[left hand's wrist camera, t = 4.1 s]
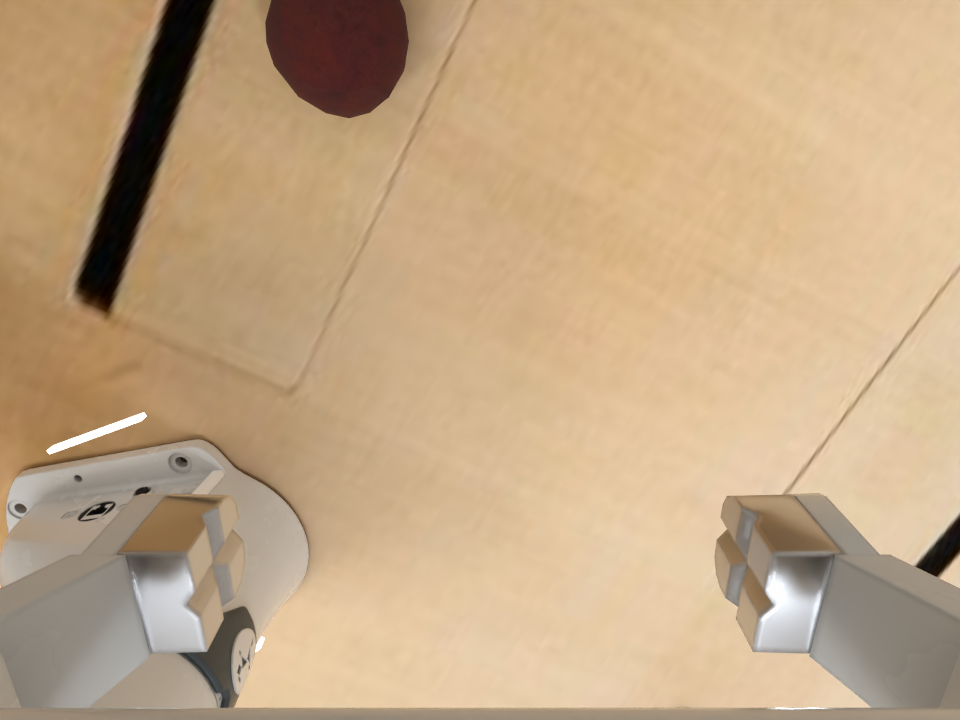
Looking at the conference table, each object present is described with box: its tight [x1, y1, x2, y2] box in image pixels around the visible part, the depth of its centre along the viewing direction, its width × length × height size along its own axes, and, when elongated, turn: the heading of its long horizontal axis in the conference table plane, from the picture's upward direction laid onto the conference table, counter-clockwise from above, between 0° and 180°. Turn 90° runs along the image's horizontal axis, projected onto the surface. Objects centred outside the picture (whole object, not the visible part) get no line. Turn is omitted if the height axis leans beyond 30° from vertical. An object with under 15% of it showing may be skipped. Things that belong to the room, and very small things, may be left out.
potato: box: [266, 0, 409, 118], centre depth 33 cm, size 7×8×7 cm
